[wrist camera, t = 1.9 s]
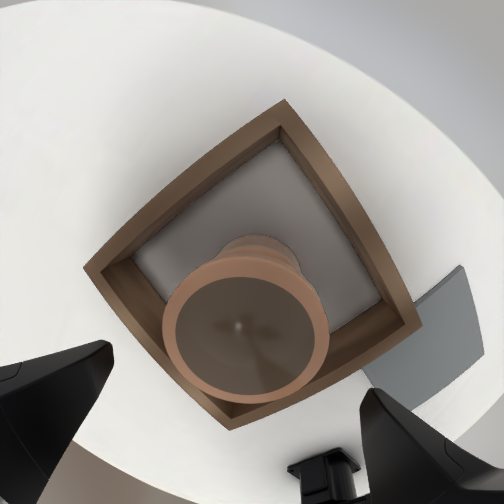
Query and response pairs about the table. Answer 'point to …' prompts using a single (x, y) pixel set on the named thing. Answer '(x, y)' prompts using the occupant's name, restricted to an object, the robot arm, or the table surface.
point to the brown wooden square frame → (199, 182)
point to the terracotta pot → (247, 323)
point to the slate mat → (432, 345)
